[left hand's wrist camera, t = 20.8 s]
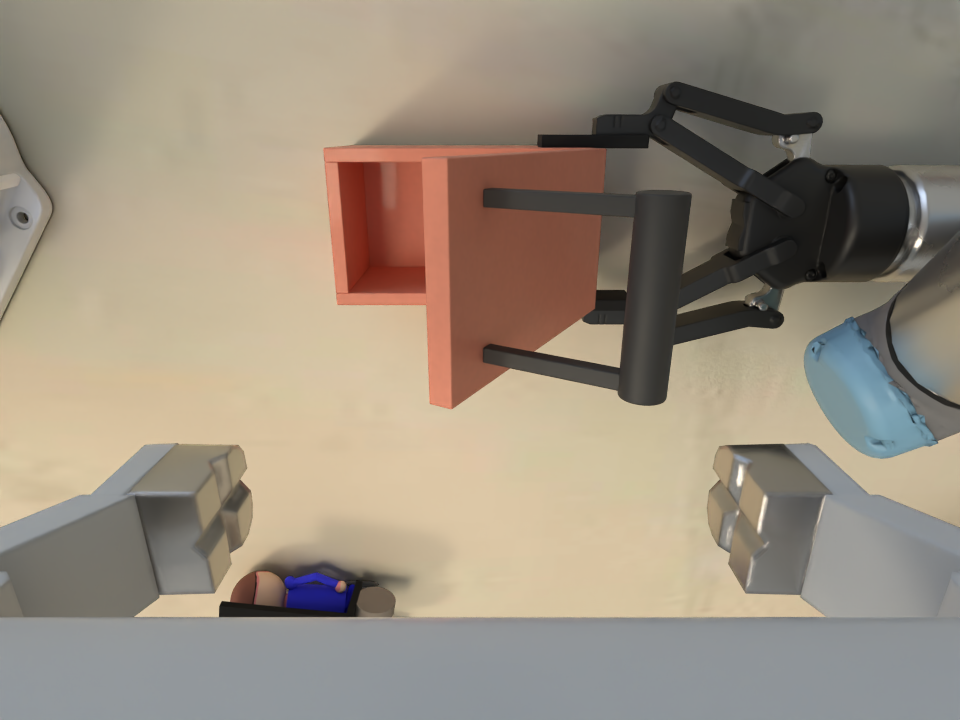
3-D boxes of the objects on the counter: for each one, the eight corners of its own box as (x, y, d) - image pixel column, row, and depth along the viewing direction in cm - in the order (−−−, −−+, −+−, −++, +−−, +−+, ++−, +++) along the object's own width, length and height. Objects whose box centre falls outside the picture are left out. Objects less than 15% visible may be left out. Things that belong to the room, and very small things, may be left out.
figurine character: (398, 558, 58) (238, 550, 56) (396, 617, 51) (214, 612, 49) (391, 610, 60) (237, 605, 58) (389, 674, 53) (214, 672, 51)
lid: (428, 404, 24) (642, 459, 20) (421, 157, 21) (675, 163, 17) (578, 306, 38) (723, 327, 34) (588, 148, 35) (750, 150, 30)
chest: (362, 274, 47) (337, 305, 38) (353, 144, 43) (323, 147, 35) (565, 274, 47) (585, 305, 38) (572, 145, 43) (596, 147, 35)
